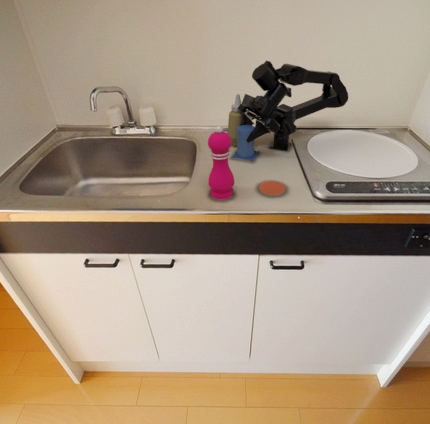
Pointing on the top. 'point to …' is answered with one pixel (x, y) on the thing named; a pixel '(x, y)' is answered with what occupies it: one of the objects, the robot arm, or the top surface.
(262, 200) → the top surface
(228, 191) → the pepper mill
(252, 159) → the blue mat
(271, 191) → the terracotta mat
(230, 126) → the squeeze bottle
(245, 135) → the blue tin
